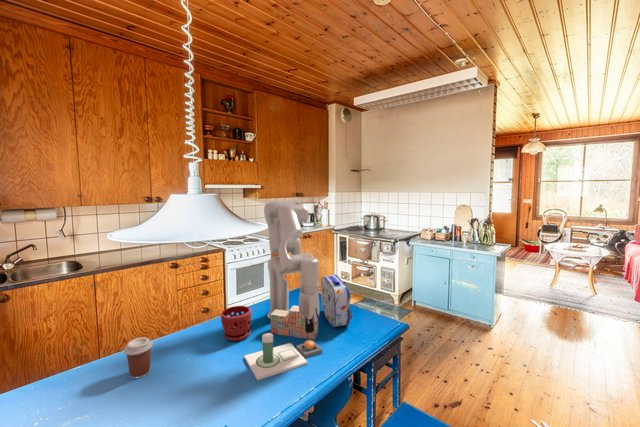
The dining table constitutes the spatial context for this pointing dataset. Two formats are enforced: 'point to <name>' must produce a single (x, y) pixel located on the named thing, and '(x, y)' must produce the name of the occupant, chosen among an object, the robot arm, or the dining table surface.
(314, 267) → the robot arm
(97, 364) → the dining table surface
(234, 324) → the plant pot
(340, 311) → the lunch box
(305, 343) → the button
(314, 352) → the button housing
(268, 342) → the marker
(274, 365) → the activity sheet
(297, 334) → the stack of blocks
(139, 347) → the coffee cup
